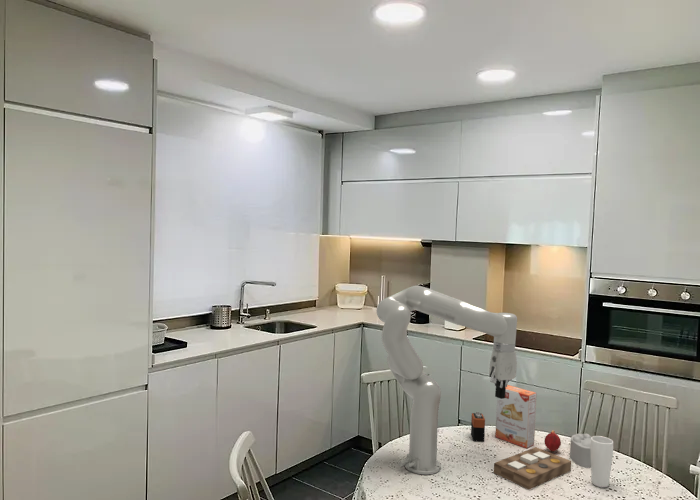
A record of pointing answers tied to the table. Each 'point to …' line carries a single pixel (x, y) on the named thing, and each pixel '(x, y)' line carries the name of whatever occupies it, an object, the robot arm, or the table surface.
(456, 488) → the table surface
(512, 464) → the button left
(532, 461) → the button middle
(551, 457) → the button board
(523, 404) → the cracker box
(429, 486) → the table surface
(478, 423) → the battery
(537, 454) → the button right
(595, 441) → the drinking glass
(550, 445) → the onion
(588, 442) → the lumpy-topped squat cylinder
